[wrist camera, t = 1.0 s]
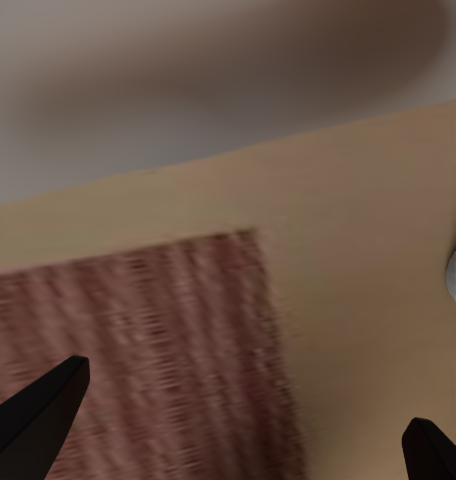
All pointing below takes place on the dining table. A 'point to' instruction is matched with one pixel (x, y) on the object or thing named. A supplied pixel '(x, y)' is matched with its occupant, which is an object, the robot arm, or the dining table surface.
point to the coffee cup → (451, 276)
